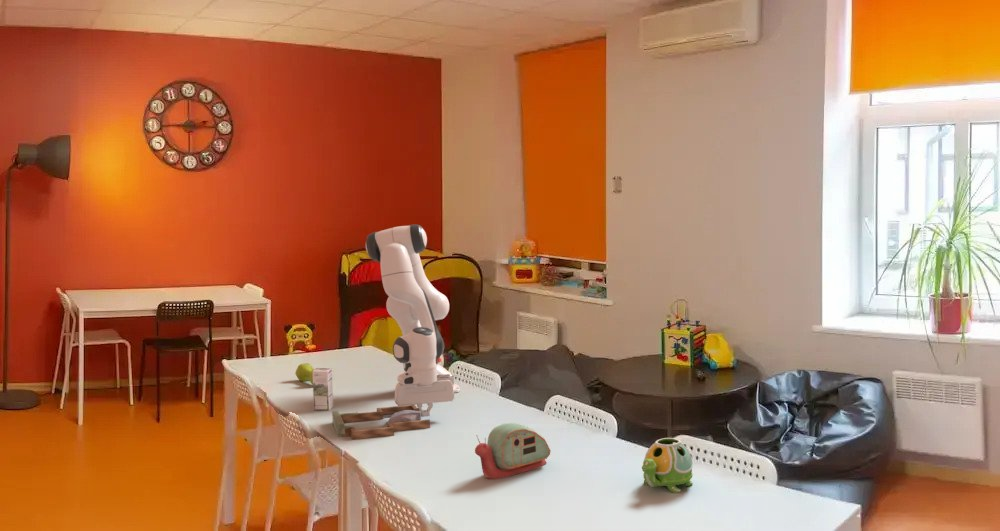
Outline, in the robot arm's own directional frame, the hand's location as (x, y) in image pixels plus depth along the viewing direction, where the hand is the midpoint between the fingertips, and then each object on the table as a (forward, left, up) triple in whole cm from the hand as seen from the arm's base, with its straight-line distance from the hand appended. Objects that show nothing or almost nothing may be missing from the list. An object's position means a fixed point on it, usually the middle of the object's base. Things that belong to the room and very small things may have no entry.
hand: (425, 416), depth 306 cm
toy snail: (-12, +60, -2) cm, 61 cm away
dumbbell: (+32, -72, -2) cm, 79 cm away
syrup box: (+31, -29, -2) cm, 43 cm away
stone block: (+7, 0, -2) cm, 8 cm away
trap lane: (+15, 0, -2) cm, 15 cm away
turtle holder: (-47, +85, -2) cm, 97 cm away
